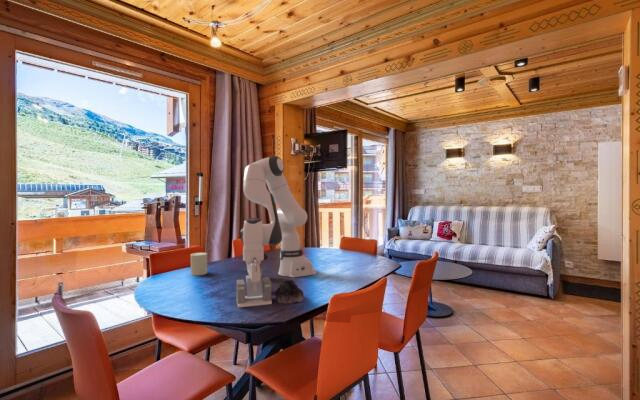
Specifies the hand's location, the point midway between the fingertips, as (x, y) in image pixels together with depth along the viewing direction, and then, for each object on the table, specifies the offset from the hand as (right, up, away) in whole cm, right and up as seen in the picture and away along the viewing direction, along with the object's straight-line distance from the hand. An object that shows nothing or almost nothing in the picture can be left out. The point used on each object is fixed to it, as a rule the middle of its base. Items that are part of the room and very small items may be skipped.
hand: (253, 287), depth 139 cm
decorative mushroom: (-6, -5, +39) cm, 40 cm away
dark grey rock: (+15, -6, +3) cm, 17 cm away
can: (-42, -5, +49) cm, 65 cm away
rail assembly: (0, -6, 0) cm, 6 cm away
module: (0, -3, 0) cm, 3 cm away
